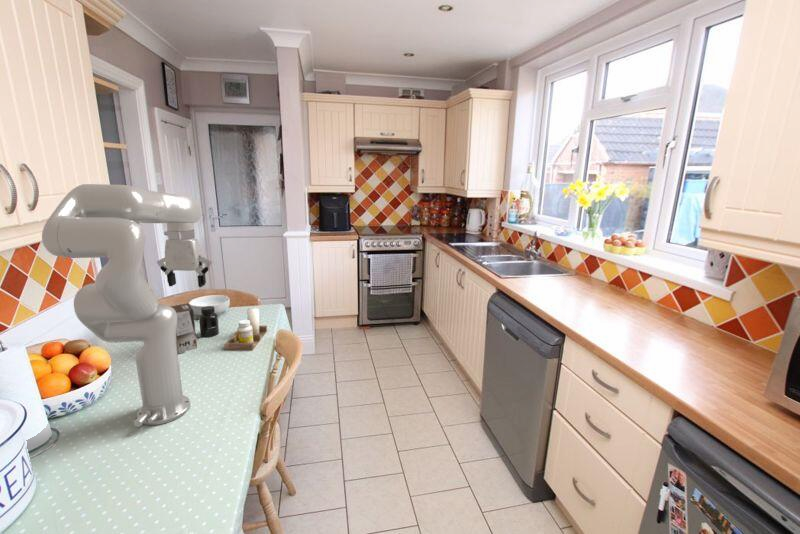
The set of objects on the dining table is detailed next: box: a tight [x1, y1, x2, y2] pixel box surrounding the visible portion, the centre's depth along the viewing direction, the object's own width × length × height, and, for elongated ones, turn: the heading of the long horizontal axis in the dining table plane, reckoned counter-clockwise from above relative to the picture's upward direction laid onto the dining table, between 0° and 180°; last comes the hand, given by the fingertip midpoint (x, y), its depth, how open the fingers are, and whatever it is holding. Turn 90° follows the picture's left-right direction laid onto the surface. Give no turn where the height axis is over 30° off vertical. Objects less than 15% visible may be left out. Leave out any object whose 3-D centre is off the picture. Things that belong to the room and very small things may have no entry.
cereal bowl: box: [188, 294, 231, 316], centre depth 174 cm, size 17×17×7 cm
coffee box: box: [170, 302, 198, 354], centre depth 140 cm, size 9×6×16 cm
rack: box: [224, 325, 268, 352], centre depth 149 cm, size 18×10×3 cm, turn 2°
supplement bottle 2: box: [236, 319, 253, 343], centre depth 144 cm, size 5×5×10 cm
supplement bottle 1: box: [198, 306, 220, 339], centre depth 152 cm, size 7×7×12 cm
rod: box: [246, 307, 260, 334], centre depth 152 cm, size 4×4×11 cm
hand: (187, 285), depth 125 cm, fingers open, 9 cm apart
